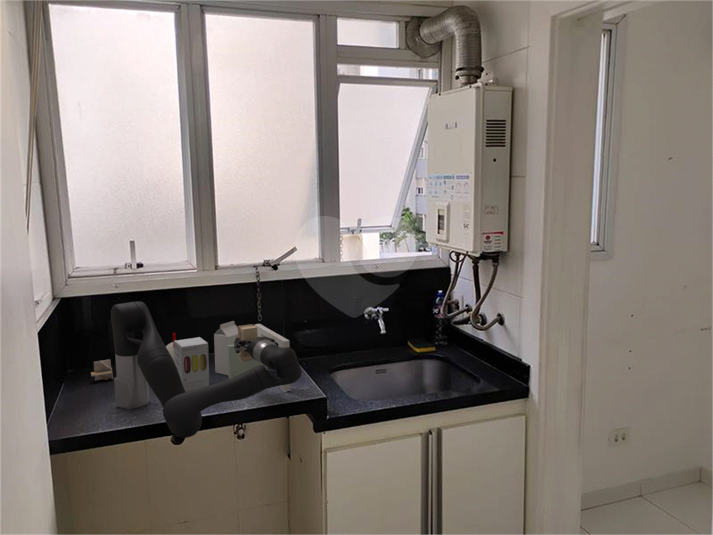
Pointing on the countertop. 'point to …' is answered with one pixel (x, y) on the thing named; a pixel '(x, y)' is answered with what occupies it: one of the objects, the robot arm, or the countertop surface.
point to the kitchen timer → (172, 348)
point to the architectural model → (102, 370)
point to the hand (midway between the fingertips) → (245, 339)
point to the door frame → (279, 339)
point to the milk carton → (224, 346)
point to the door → (239, 363)
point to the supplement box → (192, 362)
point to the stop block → (246, 334)
